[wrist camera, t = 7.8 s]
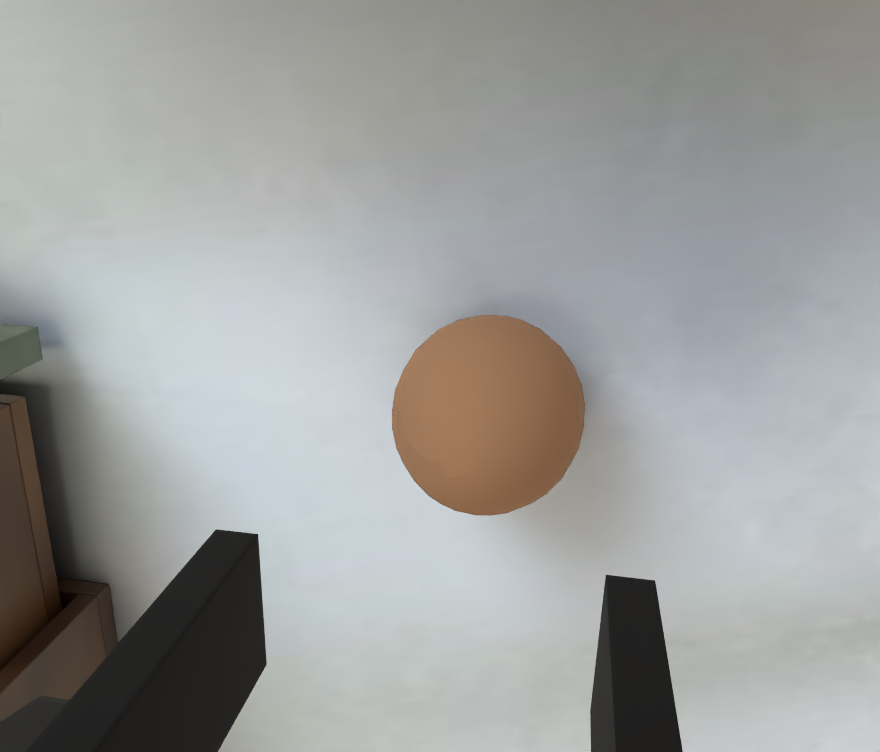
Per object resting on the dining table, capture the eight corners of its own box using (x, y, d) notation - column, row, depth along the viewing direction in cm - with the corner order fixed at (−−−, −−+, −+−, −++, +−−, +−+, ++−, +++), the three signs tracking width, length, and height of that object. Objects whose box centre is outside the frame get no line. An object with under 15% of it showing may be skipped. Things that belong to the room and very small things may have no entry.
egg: (544, 474, 26) (532, 598, 19) (396, 413, 26) (334, 516, 19) (611, 331, 24) (624, 416, 17) (450, 267, 24) (403, 326, 17)
